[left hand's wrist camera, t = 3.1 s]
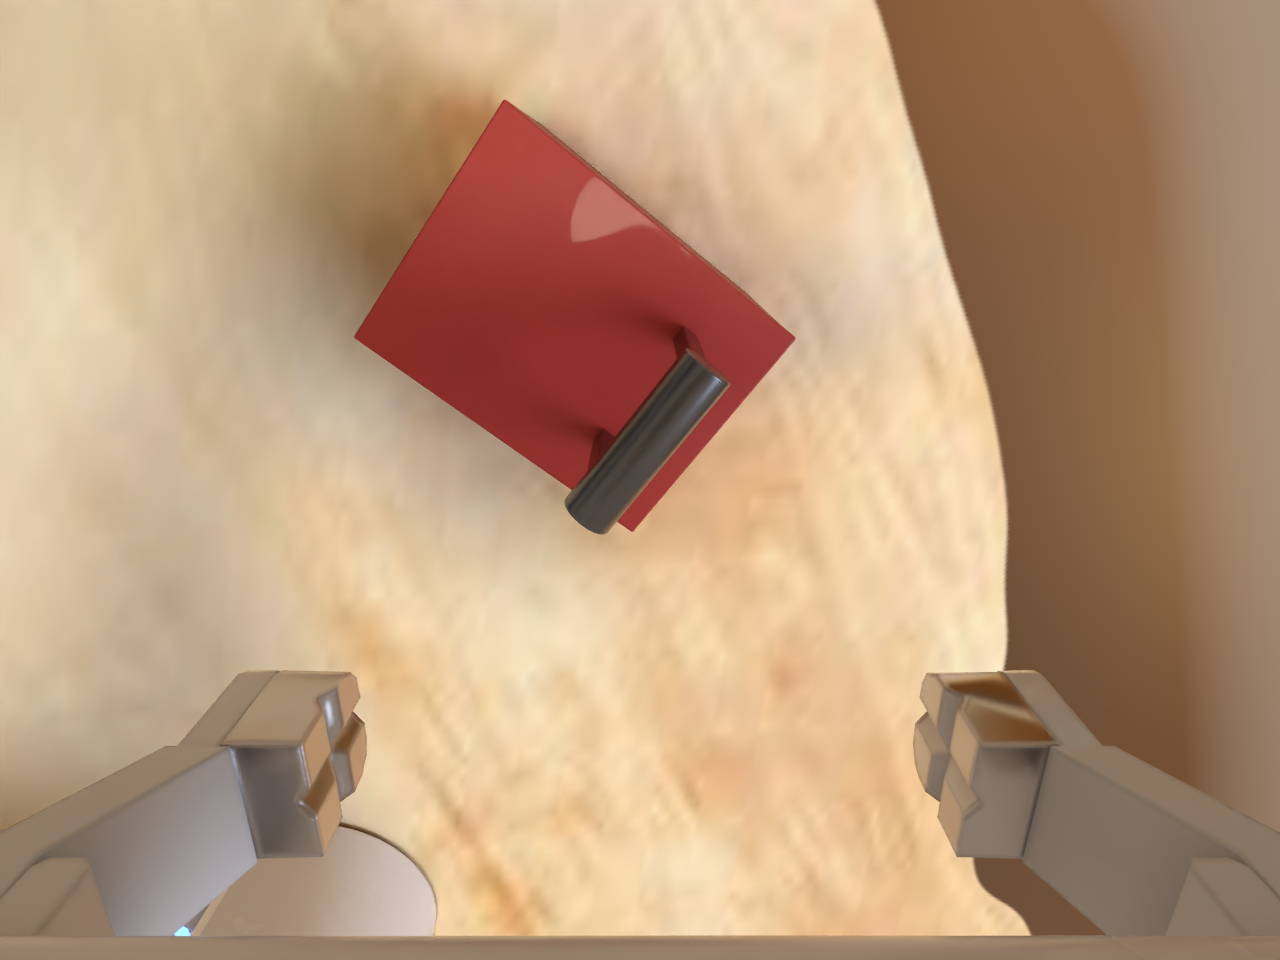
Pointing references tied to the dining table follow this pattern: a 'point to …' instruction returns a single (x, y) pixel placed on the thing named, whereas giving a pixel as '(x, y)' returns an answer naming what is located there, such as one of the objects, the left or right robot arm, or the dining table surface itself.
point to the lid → (570, 325)
